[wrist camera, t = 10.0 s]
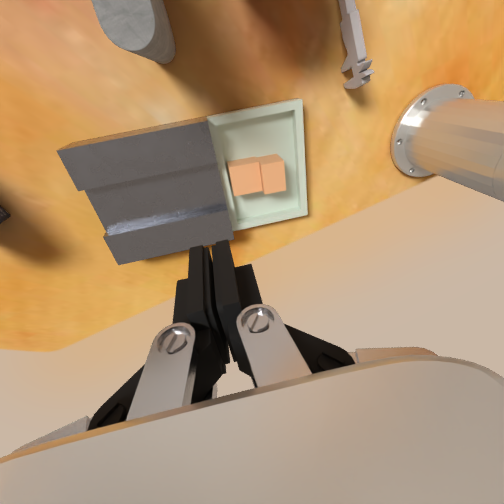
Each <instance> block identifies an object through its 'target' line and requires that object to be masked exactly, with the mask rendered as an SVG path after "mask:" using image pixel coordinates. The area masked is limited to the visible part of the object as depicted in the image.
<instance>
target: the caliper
mask: <svg viewBox="0 0 504 504" xmlns="http://www.w3.org/2000/svg"><path fill="white" fill-rule="evenodd" d="M339 5H340V10H341V15H342V21H341V23H340V27H341V31H342V36H343V41H344V44H345V47H346V48H347V54H348V56H347V57H346V59H345V61H344V63H343V65H342V67H341V72H342V73H343V72H345V71H347V70H349V69H352V72H353V76H354V77H353V78H351V79H350V80H349V81H347V82H346V83H344V84H343V85H344V87H345V88H348V89H356V88H358V87H360V86H363V85H364V84H366V83H367V82H369V81H370V75H371V74H372V73H374V71H373V70H372V69H368V70H367V68H369V67H370V65H371V62H372V59H371V60H368V61H366V62H365V58H366V57H367V55H366V49H365V44H364V38H363V33H362V27H361V21H360V16H359V10H358V9H357V10H356V5H355V0H339Z"/></svg>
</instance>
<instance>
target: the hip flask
mask: <svg viewBox="0 0 504 504" xmlns="http://www.w3.org/2000/svg"><path fill="white" fill-rule="evenodd" d="M92 3H93V6H94V9H95V12H96V15H97V18H98V20H99V23H100V25H101V28H102V29H103V31H104V33H105V34H106V36H107V37H108V38H109V39H110V40H111V41H112V42H113V43H114V44H115V45H117V46H118V47H120V48H122V49H124V50H127V51H129V52H132V53H135V54H137V55H140V56H142V57H145V58H148V59H150V60H153V61H155V62H158V63H161V64H166V63H169V62H170V61H171V60H172V59H173V58H174V56H175V52H176V46H175V41H174V37H173V33H172V29H171V25H170V22H169V18H168V15H167V12H166V8H165V5H164V2H163V0H92Z"/></svg>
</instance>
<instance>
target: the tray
mask: <svg viewBox="0 0 504 504" xmlns="http://www.w3.org/2000/svg"><path fill="white" fill-rule="evenodd" d="M207 120H208V125H209V129H210V134H211V138H212V143H213V147H214V151H215V156H216V160H217V165H218V169H219V173H220V178H221V182H222V187H223V191H224V195H225V200H226V204H227V209H228V213H229V218H230V222H231V226H232V231H237V230H241V229H246V228H250V227H255V226H259V225H264V224H268V223H273V222H277V221H282V220H286V219H291V218H296V217H300V216H305V215H308V211H307V190H306V168H305V146H304V125H303V103H302V99H299V98H296V99H291V100H286V101H281V102H276V103H271V104H266V105H261V106H255V107H250V108H245V109H240V110H235V111H230V112H225V113H220V114H215V115H210V116H207ZM272 154H278V155H279V156H280V157H281V158H282V159H283V160H284V167H285V180H286V190H285V191H280V192H275V193H270V194H264V192H263V191H260V192H255V193H250V194H245V195H239V196H234V194H233V190H232V186H231V181H230V176H229V170H228V165H227V162H228V161H233V160H238V159H244V158H249V157H254V156H255V157H261V156H266V155H272Z"/></svg>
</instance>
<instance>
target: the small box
mask: <svg viewBox="0 0 504 504" xmlns="http://www.w3.org/2000/svg"><path fill="white" fill-rule="evenodd" d="M9 217H10V214H9V213H7V212H6V211H5V210H4V209H3V208H2V207H1V206H0V223H2V222H3V221H4V220H6V219H7V218H9Z"/></svg>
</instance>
